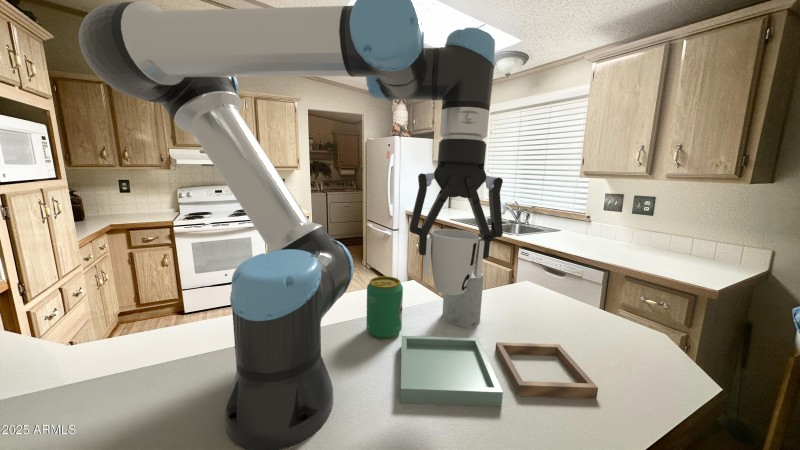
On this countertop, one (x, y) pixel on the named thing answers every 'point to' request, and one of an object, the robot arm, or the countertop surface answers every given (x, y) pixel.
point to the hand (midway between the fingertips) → (451, 274)
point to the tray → (447, 372)
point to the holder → (545, 389)
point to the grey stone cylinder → (464, 305)
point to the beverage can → (384, 307)
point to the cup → (453, 259)
